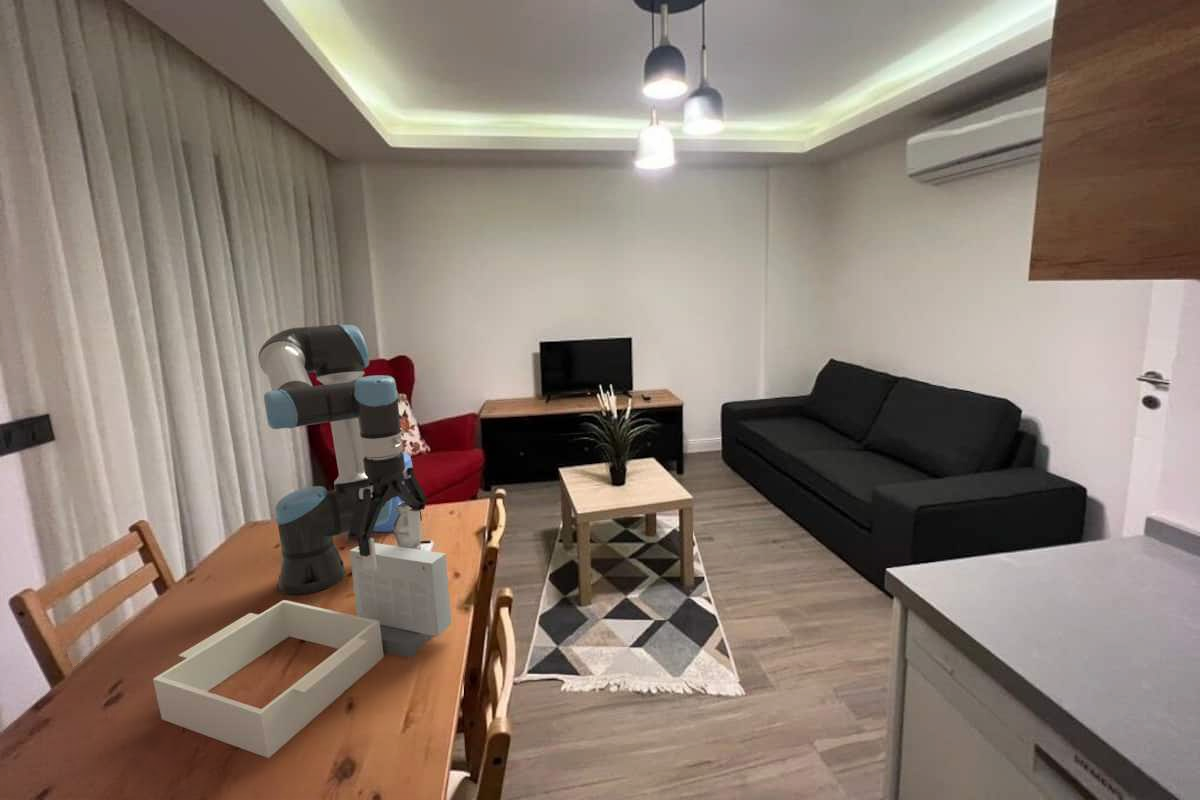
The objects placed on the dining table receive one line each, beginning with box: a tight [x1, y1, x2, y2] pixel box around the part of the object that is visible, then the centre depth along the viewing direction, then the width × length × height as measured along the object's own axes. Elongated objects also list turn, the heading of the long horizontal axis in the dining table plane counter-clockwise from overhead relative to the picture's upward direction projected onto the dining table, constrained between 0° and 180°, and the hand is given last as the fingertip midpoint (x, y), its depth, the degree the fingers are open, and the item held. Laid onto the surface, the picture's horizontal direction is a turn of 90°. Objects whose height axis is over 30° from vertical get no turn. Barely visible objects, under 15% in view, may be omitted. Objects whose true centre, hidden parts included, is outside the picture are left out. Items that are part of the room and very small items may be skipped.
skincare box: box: [349, 542, 452, 637], centre depth 116 cm, size 21×6×16 cm, turn 69°
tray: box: [152, 599, 385, 759], centre depth 103 cm, size 31×26×8 cm
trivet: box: [380, 625, 433, 659], centre depth 117 cm, size 12×12×3 cm
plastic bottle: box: [393, 502, 422, 550], centre depth 139 cm, size 6×7×20 cm
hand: (394, 552), depth 114 cm, fingers open, 13 cm apart
